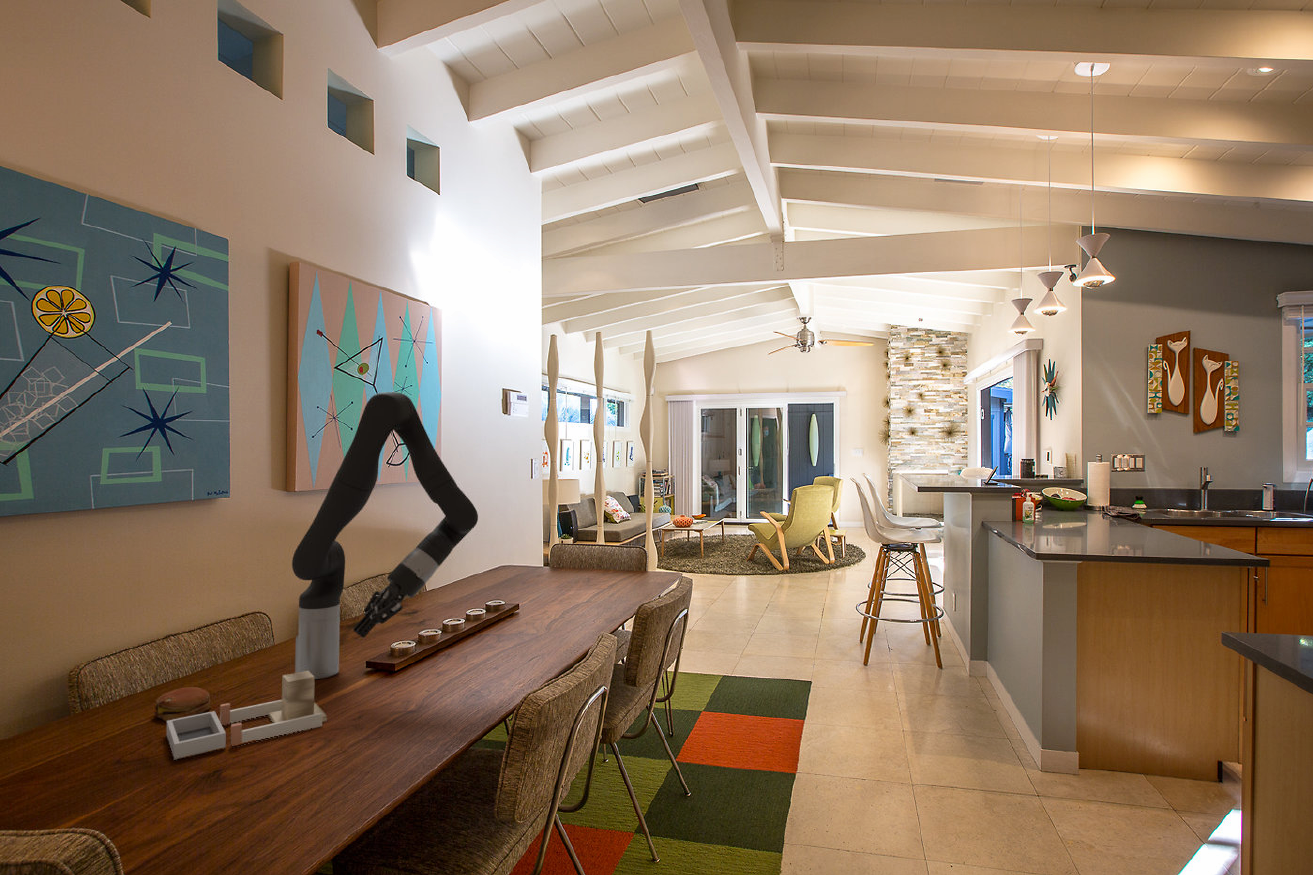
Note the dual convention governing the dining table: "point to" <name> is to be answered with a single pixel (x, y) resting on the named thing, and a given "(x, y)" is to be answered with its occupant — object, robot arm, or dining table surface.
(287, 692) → the pawn block
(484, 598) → the dining table surface
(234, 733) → the ladder rail frame
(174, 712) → the burger
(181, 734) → the box
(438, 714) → the dining table surface
